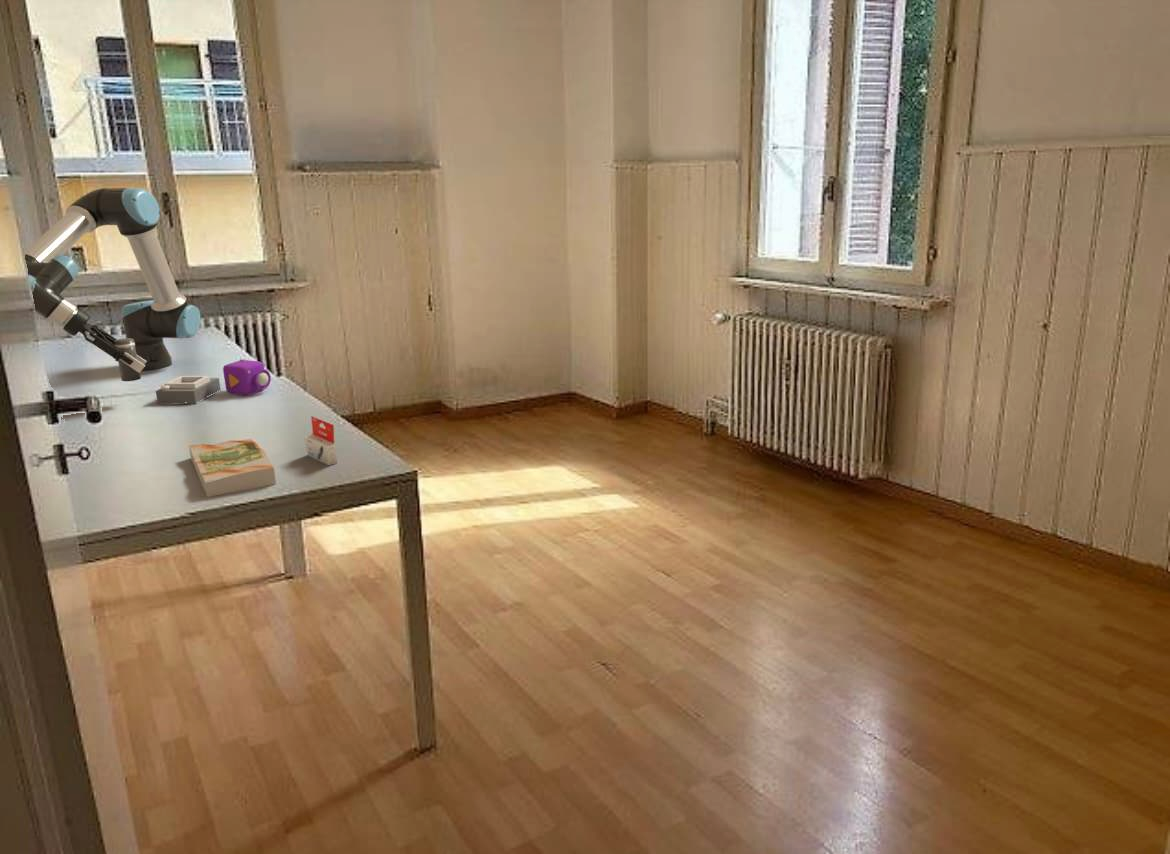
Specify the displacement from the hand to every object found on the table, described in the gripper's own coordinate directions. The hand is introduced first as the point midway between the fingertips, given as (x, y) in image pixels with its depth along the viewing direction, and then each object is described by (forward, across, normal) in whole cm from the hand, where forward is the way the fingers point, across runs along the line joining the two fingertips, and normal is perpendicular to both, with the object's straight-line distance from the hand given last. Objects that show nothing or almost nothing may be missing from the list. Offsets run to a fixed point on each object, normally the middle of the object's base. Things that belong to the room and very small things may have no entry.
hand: (142, 367), depth 261 cm
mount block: (+16, -1, 0) cm, 16 cm away
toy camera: (+29, +1, +12) cm, 32 cm away
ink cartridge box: (+38, +78, +23) cm, 89 cm away
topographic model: (+24, +77, +8) cm, 81 cm away
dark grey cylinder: (0, 0, -5) cm, 5 cm away
